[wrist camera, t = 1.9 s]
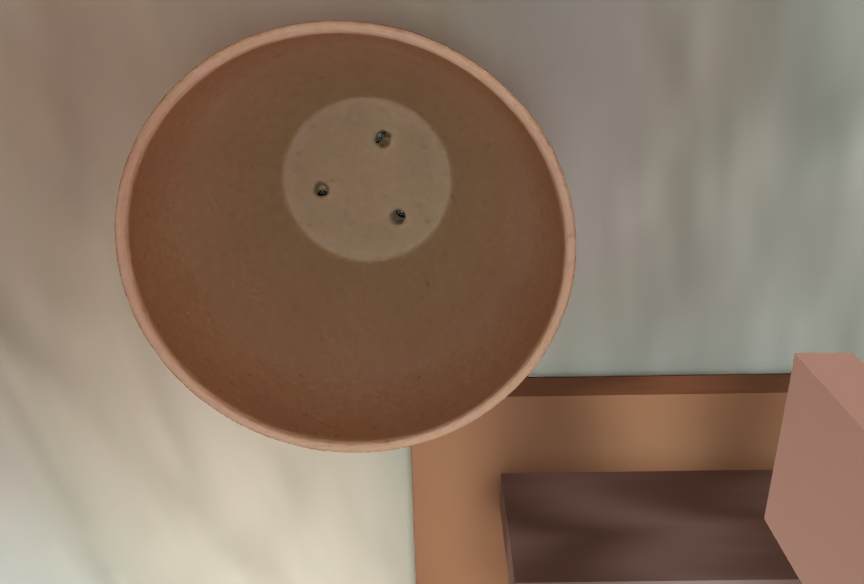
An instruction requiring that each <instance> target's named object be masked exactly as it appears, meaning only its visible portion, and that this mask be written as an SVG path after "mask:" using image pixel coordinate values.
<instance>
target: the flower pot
mask: <svg viewBox="0 0 864 584" xmlns="http://www.w3.org/2000/svg"><path fill="white" fill-rule="evenodd" d="M379 132H380V133H381V134H382V139H381V141H380V142H378V143H376V137H377V135H378V133H379ZM321 190H324V191H326V192H327V194H326V195H324V196H320V195H318V192H319V191H321ZM396 210H401V211H403V212H404V214H405V217H401V216H399V215H398V214H397V213H396ZM115 241H116V252H117V261H118V265H119V271H120V275H121V279H122V283H123V287H124V290H125V293H126V296H127V298H128V300H129V303H130V306H131V309H132V311H133V314H134V316H135V318H136V320H137V322H138V324H139V326H140V328H141V330H142V331H143V333H144V335H145V336H146V338H147V340H148V342H149V343H150V344H151V346H152V347H153V348H154V350H155V351H156V353H157V354H158V355H159V357H160V358H161V360H162V361H163V362H164V364H165V365H166V366H167V367H168V368H169V369H170V370H171V372H172V373H173V374H174V375H175V376H176V377H177V378H178V379H179V380H180V381H181V382H182V383H183V384H184V385H185V386H186V387H187V388H188V389H190V390H191V391H192V392H193V393H194V394H195V395H196V396H198V397H199V398H200V399H201V400H203V401H204V402H206V403H207V404H208V405H210V406H211V407H213V408H214V409H215V410H217V411H218V412H220V413H221V414H223V415H225V416H226V417H228V418H230V419H231V420H233V421H235V422H236V423H238V424H240V425H242V426H245V427H247V428H249V429H251V430H253V431H255V432H258V433H260V434H262V435H265V436H267V437H270V438H273V439H276V440H279V441H282V442H286V443H289V444H294V445H297V446H301V447H305V448H310V449H316V450H323V451H334V452H380V451H386V450H393V449H398V448H403V447H408V446H412V445H416V444H419V443H423V442H427V441H430V440H433V439H436V438H438V437H441V436H443V435H446V434H448V433H450V432H453V431H455V430H457V429H459V428H461V427H464V426H465V425H467V424H469V423H471V422H473V421H474V420H476V419H477V418H479V417H481V416H482V415H483V414H485V413H486V412H488V411H489V410H491V409H492V408H493V407H495V406H496V405H497V404H498V403H500V402H501V401H502V400H503V399H505V398H506V397H507V396H508V395H509V394H510V393H511V392H512V391H513V390H515V389H516V388H517V386H518V385H519V384H520V383H521V382H522V381H523V380H524V379H525V378H526V376H528V375H529V373H530V372H531V371H532V370H533V368H534V367H535V366H536V364H537V363H538V362H539V360H540V358H541V357H542V356H543V354H544V353H545V351H546V349H547V348H548V346H549V345H550V343H551V341H552V339H553V337H554V335H555V334H556V332H557V329H558V327H559V324H560V322H561V319H562V317H563V315H564V313H565V310H566V307H567V304H568V300H569V297H570V292H571V288H572V284H573V277H574V271H575V259H576V233H575V222H574V215H573V210H572V204H571V199H570V195H569V192H568V188H567V185H566V182H565V178H564V175H563V173H562V170H561V168H560V166H559V163H558V161H557V158H556V156H555V154H554V152H553V150H552V148H551V146H550V144H549V142H548V141H547V139H546V137H545V136H544V134H543V132H542V131H541V129H540V128H539V126H538V125H537V123H536V122H535V120H534V119H533V118H532V117H531V115H530V114H529V113H528V112H527V110H526V109H525V108H524V107H523V106H522V104H521V103H520V102H519V101H518V100H517V99H516V98H515V97H514V95H513V94H512V93H511V92H510V91H509V90H508V89H506V88H505V87H504V86H503V85H502V84H501V83H500V82H499V81H498V80H497V79H496V78H494V77H493V76H492V75H491V74H489V73H488V72H487V71H485V70H484V69H483V68H481V67H480V66H479V65H477V64H476V63H474V62H473V61H471V60H470V59H468V58H466V57H465V56H463V55H462V54H460V53H458V52H456V51H454V50H453V49H451V48H448V47H446V46H444V45H442V44H440V43H438V42H435V41H433V40H431V39H428V38H426V37H423V36H420V35H418V34H415V33H412V32H410V31H406V30H403V29H399V28H394V27H390V26H385V25H378V24H372V23H365V22H351V21H318V22H307V23H301V24H295V25H290V26H284V27H280V28H276V29H272V30H269V31H266V32H263V33H260V34H257V35H253V36H251V37H248V38H246V39H243V40H241V41H239V42H237V43H235V44H233V45H231V46H229V47H227V48H225V49H224V50H222V51H220V52H218V53H216V54H215V55H213V56H211V57H209V58H208V59H206V60H205V61H203V62H202V63H201V64H199V65H198V66H196V67H195V68H194V69H193V70H192V71H191V72H190V73H189V74H187V75H186V76H185V77H184V78H183V79H182V80H181V81H180V82H179V83H177V85H176V86H175V87H174V88H173V89H172V90H171V91H170V92H169V93H168V94H167V95H166V96H165V97H164V98H163V99H162V101H161V102H160V103H159V104H158V106H157V107H156V108H155V110H154V111H153V112H152V113H151V115H150V116H149V118H148V119H147V121H146V122H145V124H144V126H143V127H142V129H141V131H140V133H139V135H138V136H137V138H136V140H135V143H134V145H133V147H132V149H131V152H130V154H129V157H128V159H127V162H126V164H125V167H124V171H123V174H122V178H121V182H120V187H119V193H118V199H117V206H116V214H115Z"/></svg>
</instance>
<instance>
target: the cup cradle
mask: <svg viewBox="0 0 864 584" xmlns="http://www.w3.org/2000/svg"><path fill="white" fill-rule="evenodd" d="M790 377H791V374H758V375H690V376H622V377H554V378H525V379H524V380H523V381H522V382H521V383H520V384H519V385H518V386H517V388H516V389H515V390H513V391H512V392H511V393H510V394H509V395H508V396H507V397H506V398H505V399H503V400H502V401H501V402H500V403H498V404H497V405H496V406H495V407H493V408H492V409H491V410H489V411H488V412H486V413H485V414H483V415H482V416H481V417H479V418H477V419H476V420H474V421H473V422H471V423H469V424H467V425H465V426H464V427H461V428H459V429H457V430H455V431H453V432H450V433H448V434H446V435H443V436H441V437H438V438H436V439H433V440H430V441H427V442H423V443H419V444H416V445H412V446H411V447H412V477H413V506H414V535H415V565H416V584H802V583H801V581H800V580H799V578H798V576H797V574H796V573H795V571H794V569H793V568H792V566H791V564H790V562H789V561H788V559H787V557H786V555H785V554H784V552H783V550H782V549H781V547H780V545H779V543H778V542H777V540H776V538H775V537H774V535H773V533H772V531H771V530H770V528H769V526H768V524H767V523H766V521H765V519H764V516H765V511H766V506H767V500H768V495H769V489H770V484H771V479H772V473H773V468H774V463H775V457H776V452H777V447H778V441H779V436H780V431H781V425H782V420H783V415H784V409H785V404H786V399H787V393H788V388H789V383H790Z"/></svg>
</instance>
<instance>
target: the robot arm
mask: <svg viewBox="0 0 864 584" xmlns="http://www.w3.org/2000/svg"><path fill="white" fill-rule="evenodd" d="M764 519H765V521H766V523H767V524H768V526H769V528H770V530H771V531H772V533H773V535H774V537H775V538H776V540H777V542H778V543H779V545H780V547H781V549H782V550H783V552H784V554H785V555H786V557H787V559H788V561H789V562H790V564H791V566H792V568H793V569H794V571H795V573H796V574H797V576H798V578H799V580H800V581H801V583H802V584H864V363H863V362H861V361H860V360H859V359H858V358H857V357H856V356H855V355H854V354H853V353H798V354H795V356H794V361H793V367H792V372H791V377H790V383H789V388H788V393H787V399H786V404H785V409H784V415H783V420H782V425H781V431H780V436H779V441H778V447H777V452H776V457H775V463H774V468H773V473H772V479H771V484H770V489H769V495H768V500H767V506H766V511H765V516H764Z"/></svg>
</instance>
